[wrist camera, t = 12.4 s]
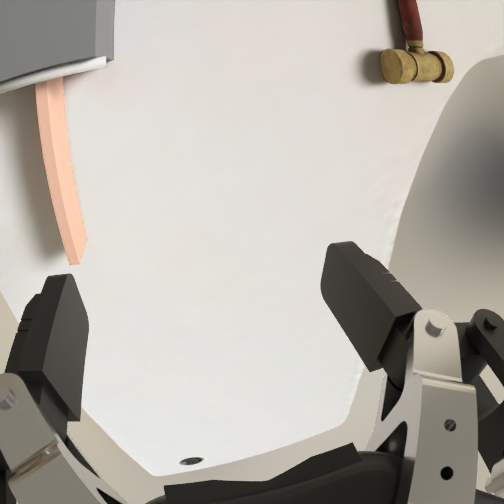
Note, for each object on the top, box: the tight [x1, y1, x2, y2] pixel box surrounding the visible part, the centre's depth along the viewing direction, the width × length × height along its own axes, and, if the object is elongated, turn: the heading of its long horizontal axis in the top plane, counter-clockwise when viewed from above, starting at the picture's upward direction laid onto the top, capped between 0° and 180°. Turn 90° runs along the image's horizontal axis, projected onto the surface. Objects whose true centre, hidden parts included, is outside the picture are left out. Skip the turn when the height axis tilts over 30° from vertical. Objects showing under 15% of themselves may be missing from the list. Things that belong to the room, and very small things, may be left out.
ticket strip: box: [35, 68, 87, 265], centre depth 25 cm, size 23×1×5 cm, turn 178°
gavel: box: [380, 0, 454, 84], centre depth 26 cm, size 21×5×10 cm
